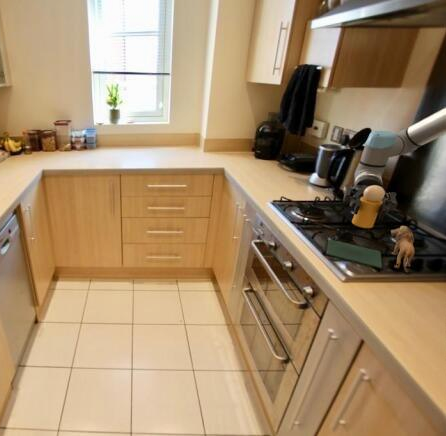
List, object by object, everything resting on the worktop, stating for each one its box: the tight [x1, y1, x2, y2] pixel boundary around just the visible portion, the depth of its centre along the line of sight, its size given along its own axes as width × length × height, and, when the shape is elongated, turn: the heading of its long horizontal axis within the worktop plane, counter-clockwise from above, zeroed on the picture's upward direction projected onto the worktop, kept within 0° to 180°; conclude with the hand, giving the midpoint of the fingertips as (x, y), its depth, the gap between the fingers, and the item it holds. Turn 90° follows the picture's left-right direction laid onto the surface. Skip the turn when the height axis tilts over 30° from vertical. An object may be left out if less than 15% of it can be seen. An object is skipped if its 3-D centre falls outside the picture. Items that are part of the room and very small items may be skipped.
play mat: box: [325, 239, 383, 270], centre depth 99 cm, size 14×10×1 cm
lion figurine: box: [390, 225, 415, 273], centre depth 94 cm, size 15×5×9 cm, turn 156°
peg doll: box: [351, 185, 386, 229], centre depth 92 cm, size 5×5×12 cm
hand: (369, 212), depth 89 cm, fingers closed on peg doll, 5 cm apart
